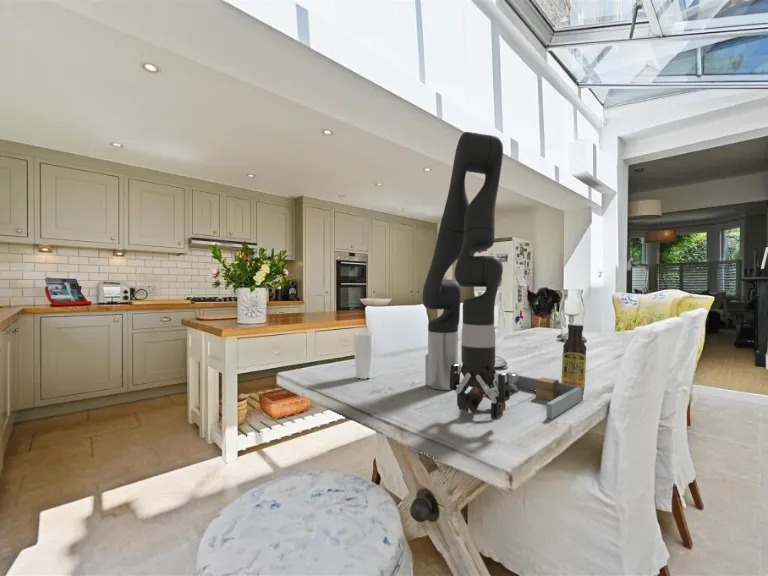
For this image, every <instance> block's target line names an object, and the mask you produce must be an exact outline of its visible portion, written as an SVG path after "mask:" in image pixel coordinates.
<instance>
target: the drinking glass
mask: <svg viewBox="0 0 768 576" xmlns="http://www.w3.org/2000/svg"><path fill="white" fill-rule="evenodd" d="M374 339H375V338H374V333H373V332H356V333H354V334H353V351H354V363H355V378H356V379H358V378H360V379H359V380H368V379H367V378H369V379H371V378H372V376H373V375H372V374H373V359H374V358H373V357H374V347H375V345H374V344H375V343H374V342H375V340H374Z"/></svg>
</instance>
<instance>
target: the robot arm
mask: <svg viewBox="0 0 768 576" xmlns="http://www.w3.org/2000/svg"><path fill="white" fill-rule="evenodd" d="M502 140H503V139H501V137H498V136H496V135H493V134H492V135H491V134H484V133H479V132H478V133H477V132H470V131H465V132H463V133H462V134H461V135H460V137H459V140H458V141H457V145H456V150H455V154H454V158H453V159H454V160H453V164H452V171H451V176H450V182H449V188H448V194H447V196H446V197H447V198H446V201H445V205H444V209H443V213H442V217H441V221H440V225H439V228H438V233H437V238H436V239H437V240H436V244H435V248H434V252H433V257H432V259H431V263H430V267H429V269H428V273H427V276H426V279H425V281H424V284H423V287H422V296H421V297H422V298H421V299H422V303H423V306H424V308H427V309H428V310H443V311H442V313H441V314H440V315H439V316H438V317H436V318H435V319H432V320H430V321H429V322H428V323H427V354H425V357H424V358H425V359H424V360H425V362H424V365H425V370H424V371H425V376H424V377H425V382H424V383H425V386H428V387H429V388H430V389H435V390H439V391H440V390H441V391H448V390H449V391H450V390H451V391H452V390H454V391H455V393H456V405H457V407H458V410H459V411H464V410H465V409H466V394H467V392H466V391H467V389H469V387H470V388H473V387H476V388H478V389H481V390H482V389H483V390H484V391H485V393H486V394H487V395H488V396H489V397H490V399H491V400H490V399H489V400H490V401H491V403H490V419H491V420H493V421H495V420H498V419H499V418H500V417H501V416H502V415H501V402H505V403H506V402H507V401H509V400H510V397H511V396H510V395H511V394H510V392H509V375H508V372H503V373H502V372H501V373H500V372H497V371H496V368H495V365H496V329H495V305H496V298H497V292H498V290H499V287H500V283H501V281H502V280H501V279H502V277H503V272H504V270H503V269H504V268H503V267H504V266H503V263H502V261H501V259H500V258H499V257H497V256H494V255H485V256H484V255H478V256H477V255H475V254H476V253H478V252H482V251H486V250H488V249H490V248H492V247H493V246H494V245H495V244H494V243H495V229H496V228H495V226H496V225H495V224H496V223H495V220H496V219H495V216H496V203H497V202H496V201H497V198H498V191H499V187H500V186H499V185H500V179H501V172H502V164H503V158H504V157H503V156H504V143H503V141H502ZM467 172H468V173H475V174H481V175H484V182H483V185H482V187H481V188H480V190H479V191H478V192H477V194H476V195H475V197H474V198H473V199H472V200H471V201H469V198H468V195H467V192H466V191H467V189H466V174H467ZM456 261H457V262H456ZM455 262H456V264H455V268H454V279H444V277H445V275H446V273H447V272H448V270H449V269H450V268H451V266H452V265H453V264H454V263H455ZM460 286H461V287H462V288H463V287H464V288H469V287H470V288H472V287H473V288H482V287H483V288H484V287H485V291H484V293H482V294H480V295H478V296H471V297H468V298H467V297H466V298H465V299H464V300H463V302H462V325H461V326H462V328H461V348H460V349H461V356H460V357H461V358H460V359H461V363H462V365H461V364H460V363H459V324H460V318H461V317H460V316H461V315H460V313H461V288H460ZM461 374H462V376H463V378H462V380H461ZM495 378H496V380H497V381H496V382H497V383H498V388H499V392H498V388H497V386H496V384H495V383H494V381H493V380H494V379H495ZM460 380H461V381H460ZM489 386H490V387H491V388H489Z"/></svg>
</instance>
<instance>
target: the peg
mask: <svg viewBox="0 0 768 576" xmlns="http://www.w3.org/2000/svg"><path fill="white" fill-rule="evenodd" d="M507 373H508V375H509V392H517V393H518V392H519V387H518V375H519V374H518V373H516V372H507Z"/></svg>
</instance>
